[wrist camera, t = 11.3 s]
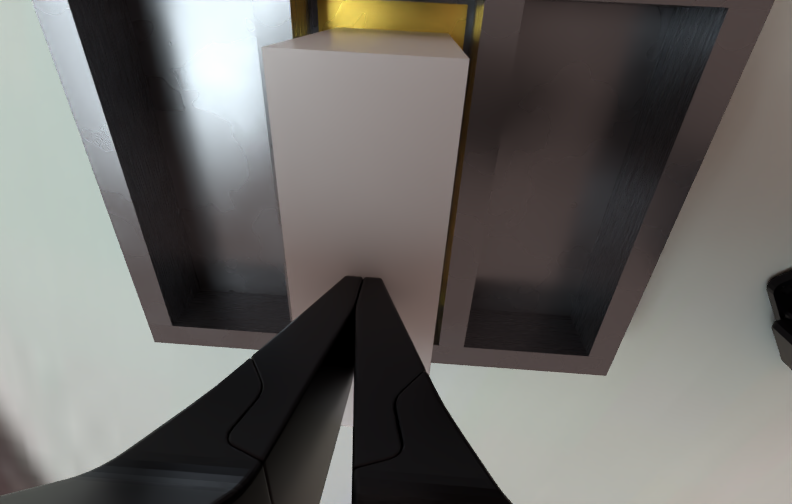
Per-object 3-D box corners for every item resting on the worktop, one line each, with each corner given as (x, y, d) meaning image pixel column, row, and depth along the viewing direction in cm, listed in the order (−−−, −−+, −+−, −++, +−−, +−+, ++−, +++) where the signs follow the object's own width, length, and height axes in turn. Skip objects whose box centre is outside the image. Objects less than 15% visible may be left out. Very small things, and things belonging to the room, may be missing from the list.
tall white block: (337, 27, 13) (261, 47, 7) (448, 33, 13) (469, 59, 7) (343, 284, 18) (303, 422, 12) (422, 290, 18) (421, 432, 12)
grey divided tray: (717, -43, 12) (800, -56, 9) (581, 325, 19) (606, 375, 17) (87, -72, 13) (-2, -93, 10) (190, 297, 20) (154, 342, 17)
